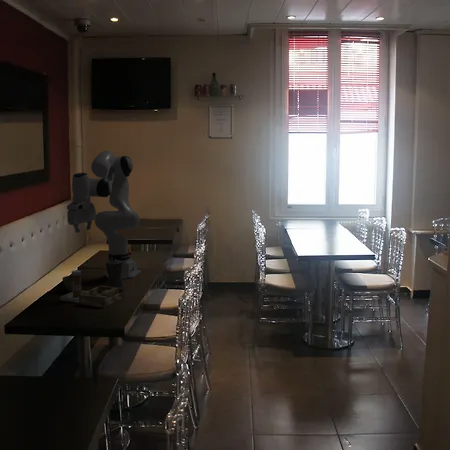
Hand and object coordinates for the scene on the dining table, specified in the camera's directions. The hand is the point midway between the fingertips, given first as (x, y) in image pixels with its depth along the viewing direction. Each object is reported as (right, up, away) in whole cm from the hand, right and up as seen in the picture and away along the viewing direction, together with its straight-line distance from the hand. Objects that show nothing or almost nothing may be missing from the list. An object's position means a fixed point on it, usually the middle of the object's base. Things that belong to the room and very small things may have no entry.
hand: (83, 231), depth 289 cm
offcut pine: (+15, -35, -12) cm, 40 cm away
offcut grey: (+13, -36, -16) cm, 42 cm away
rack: (+12, -35, -10) cm, 38 cm away
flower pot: (-8, -32, +11) cm, 35 cm away
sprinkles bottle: (-2, -34, -4) cm, 34 cm away
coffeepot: (+14, -32, +13) cm, 37 cm away
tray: (-2, -34, -5) cm, 35 cm away
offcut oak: (+17, -35, -7) cm, 39 cm away
